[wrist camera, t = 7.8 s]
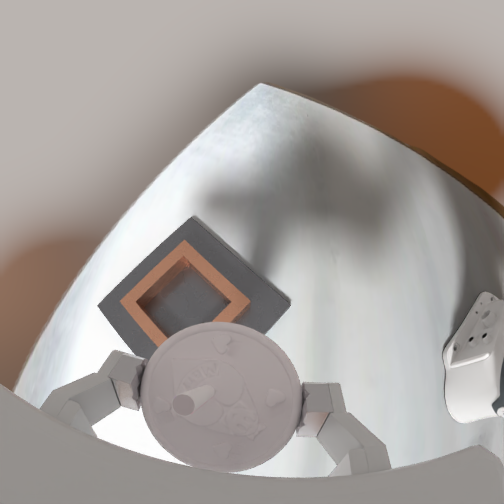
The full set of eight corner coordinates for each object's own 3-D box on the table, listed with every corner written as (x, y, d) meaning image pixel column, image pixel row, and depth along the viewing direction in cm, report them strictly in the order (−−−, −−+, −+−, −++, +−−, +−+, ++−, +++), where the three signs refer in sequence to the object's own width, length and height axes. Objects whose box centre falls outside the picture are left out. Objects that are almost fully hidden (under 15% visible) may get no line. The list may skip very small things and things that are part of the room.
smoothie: (227, 325, 20) (197, 237, 7) (294, 381, 18) (391, 396, 5) (168, 386, 18) (43, 399, 5) (235, 444, 16) (220, 559, 3)
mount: (192, 220, 39) (187, 205, 35) (290, 306, 34) (295, 299, 31) (100, 307, 34) (86, 300, 30) (189, 409, 29) (182, 414, 25)
